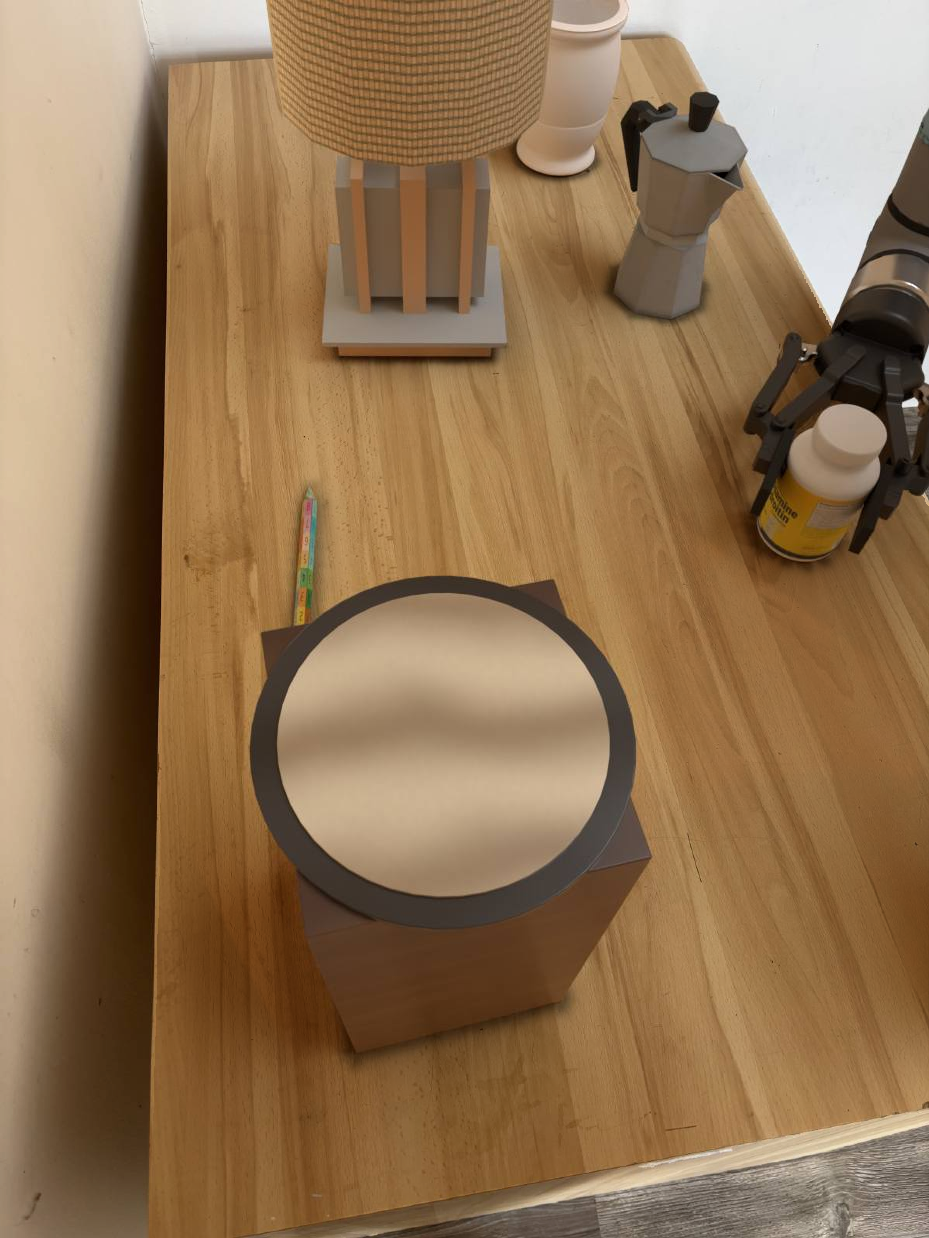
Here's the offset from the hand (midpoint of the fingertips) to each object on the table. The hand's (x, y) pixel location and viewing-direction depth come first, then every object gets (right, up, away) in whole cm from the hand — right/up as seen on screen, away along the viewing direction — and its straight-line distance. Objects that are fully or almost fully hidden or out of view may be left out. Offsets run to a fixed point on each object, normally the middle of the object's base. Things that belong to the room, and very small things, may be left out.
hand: (809, 521), depth 65 cm
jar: (-14, +43, +35) cm, 57 cm away
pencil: (-36, -4, +4) cm, 36 cm away
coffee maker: (-6, +25, +24) cm, 36 cm away
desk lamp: (-29, +21, +21) cm, 41 cm away
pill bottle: (+2, 0, +9) cm, 9 cm away
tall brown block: (-26, -25, -9) cm, 37 cm away
